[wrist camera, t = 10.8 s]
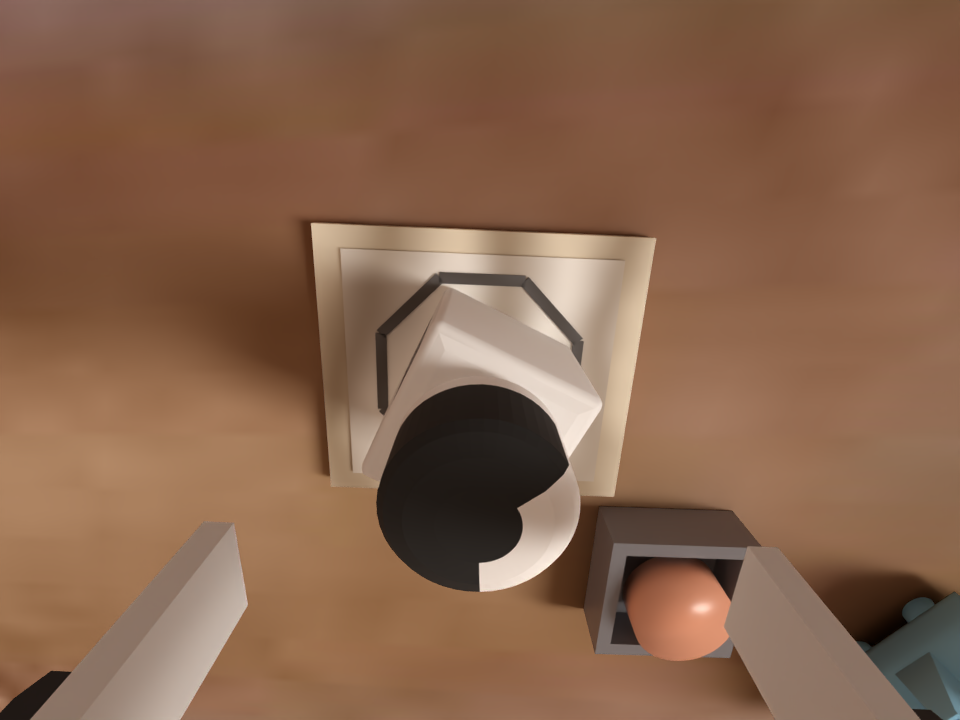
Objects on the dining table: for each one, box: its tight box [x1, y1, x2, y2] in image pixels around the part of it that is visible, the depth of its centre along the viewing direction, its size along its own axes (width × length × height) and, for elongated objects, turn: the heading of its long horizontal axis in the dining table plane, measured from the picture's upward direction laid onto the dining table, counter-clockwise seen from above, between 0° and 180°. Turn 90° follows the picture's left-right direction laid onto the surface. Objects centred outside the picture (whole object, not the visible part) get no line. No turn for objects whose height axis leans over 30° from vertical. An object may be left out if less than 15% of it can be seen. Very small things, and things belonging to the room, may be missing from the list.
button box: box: [584, 506, 762, 658], centre depth 30 cm, size 9×9×4 cm
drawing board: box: [311, 222, 656, 497], centre depth 27 cm, size 18×16×1 cm
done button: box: [622, 557, 731, 661], centre depth 28 cm, size 6×6×2 cm
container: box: [362, 288, 602, 592], centre depth 20 cm, size 8×8×13 cm
